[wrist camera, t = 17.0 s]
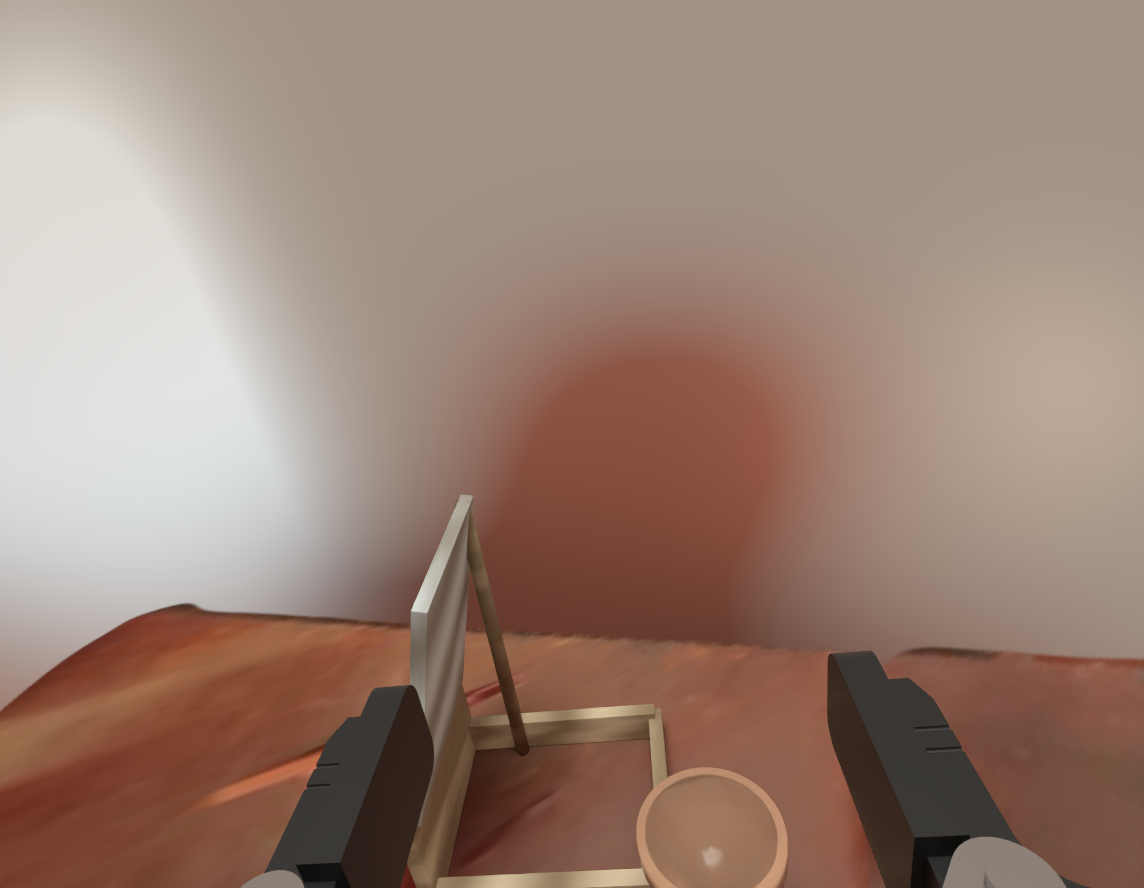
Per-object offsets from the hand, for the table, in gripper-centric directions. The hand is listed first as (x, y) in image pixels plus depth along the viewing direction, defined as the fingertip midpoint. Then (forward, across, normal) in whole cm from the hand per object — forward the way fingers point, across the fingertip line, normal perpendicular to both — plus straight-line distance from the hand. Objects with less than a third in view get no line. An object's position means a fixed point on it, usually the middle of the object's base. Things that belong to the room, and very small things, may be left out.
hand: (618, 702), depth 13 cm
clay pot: (+11, -2, +31) cm, 33 cm away
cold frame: (+22, +8, +32) cm, 40 cm away
